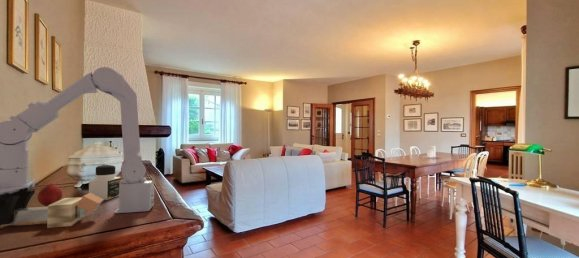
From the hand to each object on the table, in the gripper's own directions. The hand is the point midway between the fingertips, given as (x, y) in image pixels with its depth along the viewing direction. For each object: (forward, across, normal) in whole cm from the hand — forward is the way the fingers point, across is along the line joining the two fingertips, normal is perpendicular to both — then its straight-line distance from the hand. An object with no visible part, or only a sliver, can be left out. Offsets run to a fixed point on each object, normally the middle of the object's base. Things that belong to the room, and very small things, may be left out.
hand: (11, 221), depth 66 cm
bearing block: (+1, 0, +12) cm, 12 cm away
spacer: (-2, 0, +16) cm, 16 cm away
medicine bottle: (+2, -28, +12) cm, 30 cm away
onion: (+2, -18, 0) cm, 18 cm away
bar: (0, 0, +8) cm, 8 cm away
